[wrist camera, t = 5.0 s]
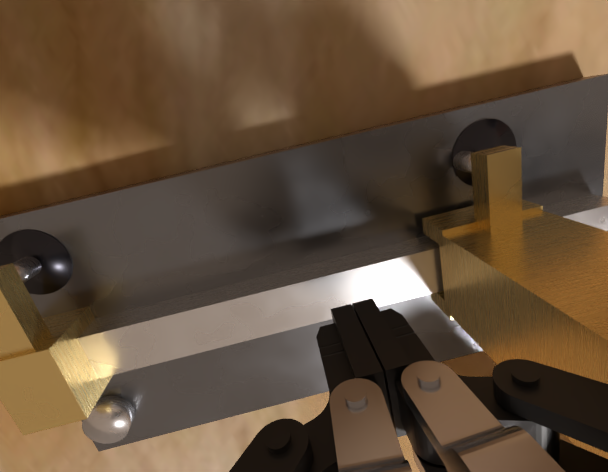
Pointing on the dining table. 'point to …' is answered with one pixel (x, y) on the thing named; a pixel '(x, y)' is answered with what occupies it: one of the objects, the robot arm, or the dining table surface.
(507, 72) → the dining table surface
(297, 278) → the beam
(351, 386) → the robot arm
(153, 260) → the metal base plate
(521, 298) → the block
